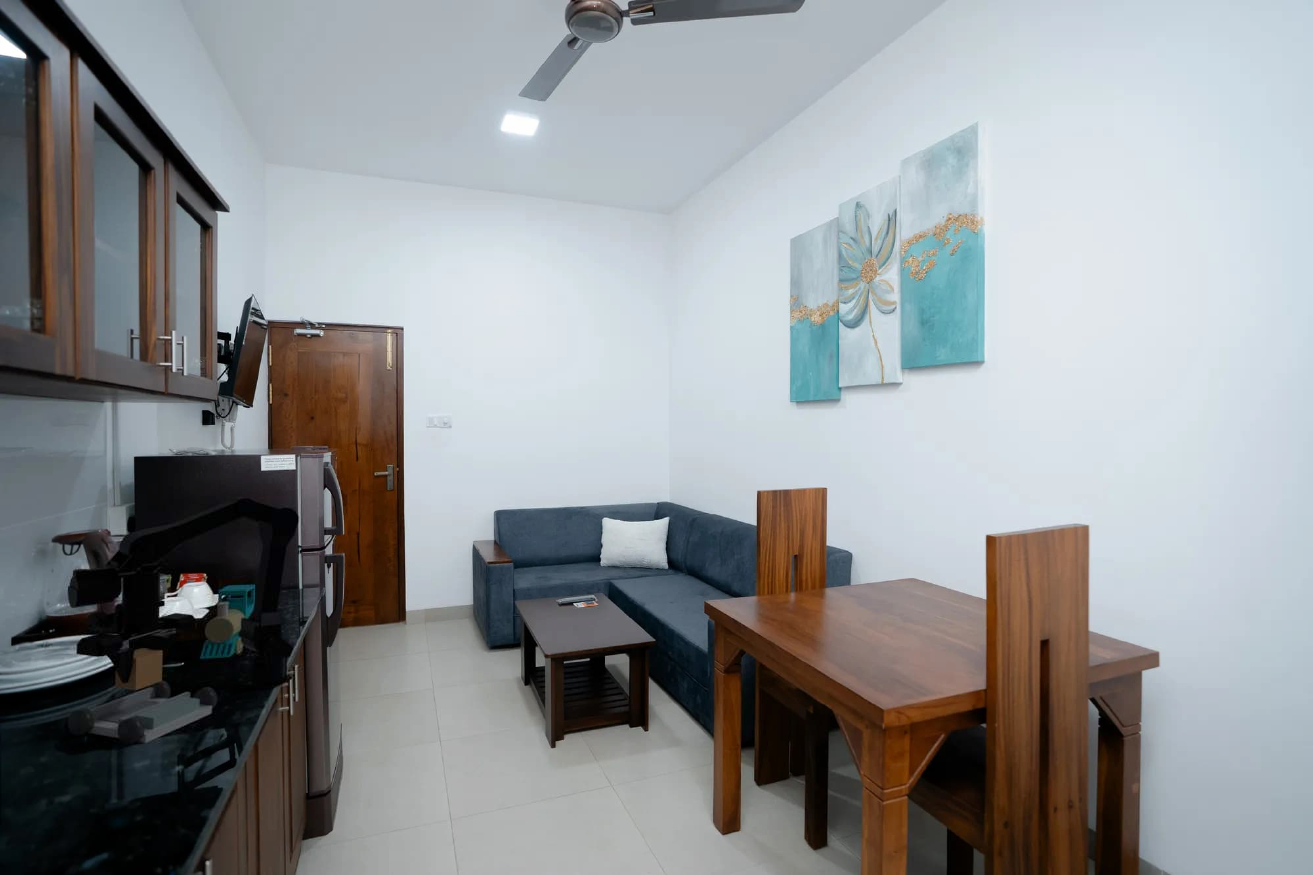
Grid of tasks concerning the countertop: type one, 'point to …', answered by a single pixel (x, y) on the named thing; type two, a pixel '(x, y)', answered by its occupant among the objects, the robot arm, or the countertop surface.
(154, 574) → the robot arm
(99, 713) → the chassis
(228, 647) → the toy train
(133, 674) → the brown cardboard cube
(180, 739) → the countertop surface
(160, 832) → the countertop surface
